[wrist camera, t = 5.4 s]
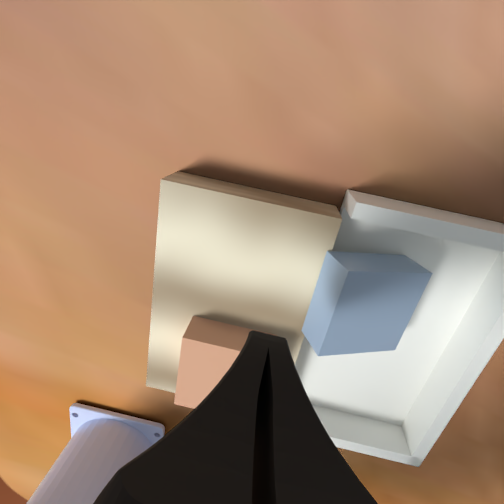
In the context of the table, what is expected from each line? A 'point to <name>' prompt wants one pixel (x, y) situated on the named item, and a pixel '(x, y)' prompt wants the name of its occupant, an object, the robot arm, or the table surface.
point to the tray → (413, 330)
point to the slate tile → (363, 302)
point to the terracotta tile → (206, 358)
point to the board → (232, 263)
